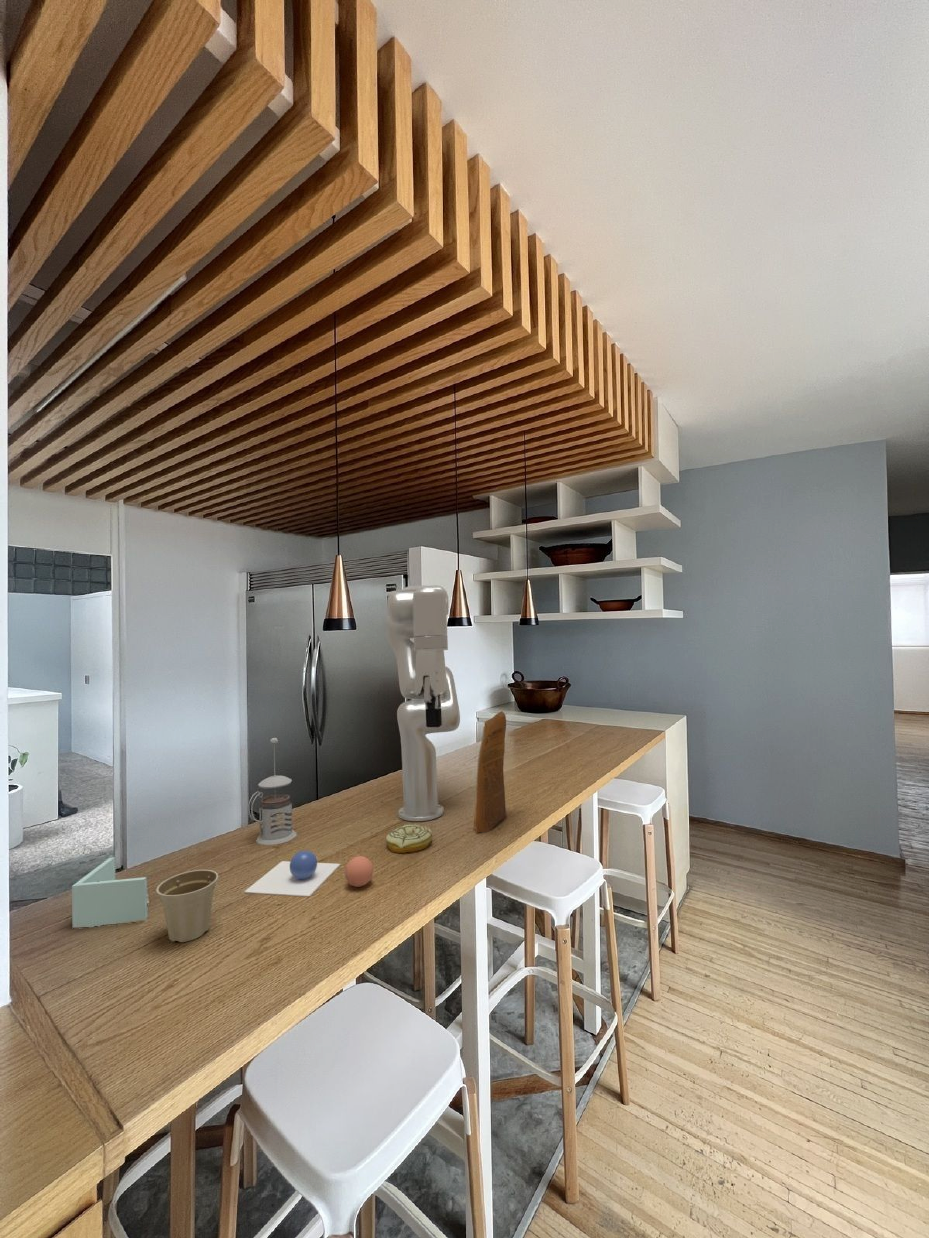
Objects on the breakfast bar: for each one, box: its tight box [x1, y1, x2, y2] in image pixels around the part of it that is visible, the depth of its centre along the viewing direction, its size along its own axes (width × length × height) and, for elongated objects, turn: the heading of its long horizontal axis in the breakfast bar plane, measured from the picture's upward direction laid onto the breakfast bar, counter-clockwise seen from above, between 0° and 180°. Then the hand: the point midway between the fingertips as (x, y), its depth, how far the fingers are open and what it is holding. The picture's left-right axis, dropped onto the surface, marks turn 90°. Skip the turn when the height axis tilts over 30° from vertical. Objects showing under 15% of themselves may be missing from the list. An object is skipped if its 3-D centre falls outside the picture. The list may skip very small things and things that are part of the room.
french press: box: [247, 737, 298, 846], centre depth 131 cm, size 10×12×25 cm
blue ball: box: [289, 850, 318, 880], centre depth 108 cm, size 6×6×6 cm
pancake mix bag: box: [473, 710, 507, 834], centre depth 136 cm, size 7×19×28 cm, turn 153°
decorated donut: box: [385, 823, 433, 854], centre depth 123 cm, size 10×11×4 cm
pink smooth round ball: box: [344, 855, 374, 888], centre depth 104 cm, size 6×6×6 cm
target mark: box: [243, 860, 341, 898], centre depth 108 cm, size 14×14×1 cm
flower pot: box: [155, 869, 219, 943], centre depth 89 cm, size 9×9×9 cm
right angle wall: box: [71, 856, 150, 928], centre depth 98 cm, size 12×12×8 cm
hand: (434, 726), depth 115 cm, fingers closed
